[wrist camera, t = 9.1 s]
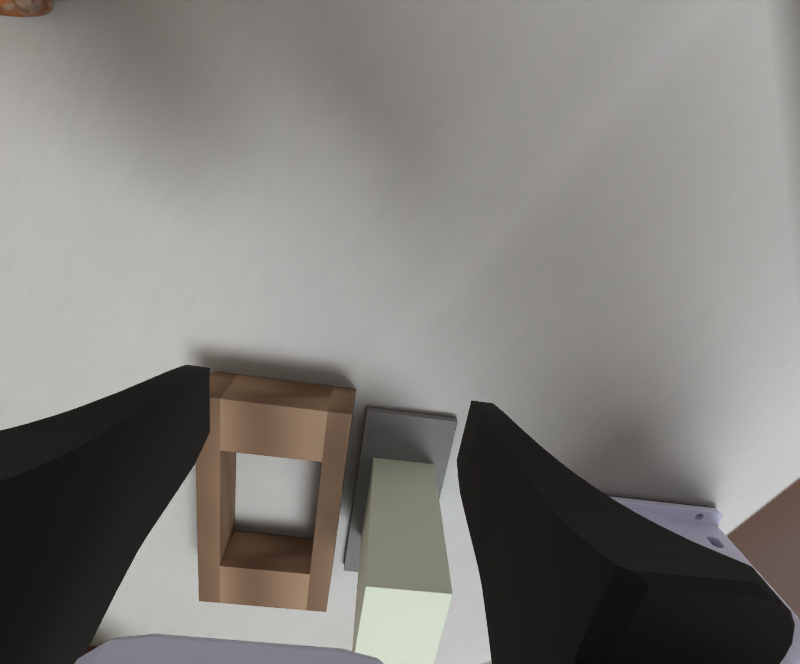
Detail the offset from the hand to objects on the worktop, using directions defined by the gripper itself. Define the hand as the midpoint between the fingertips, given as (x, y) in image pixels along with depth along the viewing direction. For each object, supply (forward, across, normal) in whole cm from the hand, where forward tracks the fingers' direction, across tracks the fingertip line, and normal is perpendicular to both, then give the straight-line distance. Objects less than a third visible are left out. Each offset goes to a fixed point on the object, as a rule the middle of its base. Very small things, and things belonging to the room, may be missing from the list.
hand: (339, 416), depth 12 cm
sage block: (+10, -4, +12) cm, 16 cm away
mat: (+10, -4, +12) cm, 16 cm away
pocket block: (+10, +4, +12) cm, 16 cm away
